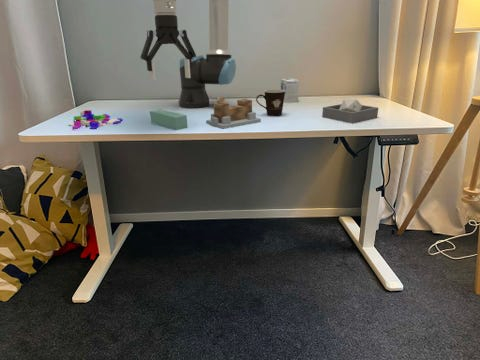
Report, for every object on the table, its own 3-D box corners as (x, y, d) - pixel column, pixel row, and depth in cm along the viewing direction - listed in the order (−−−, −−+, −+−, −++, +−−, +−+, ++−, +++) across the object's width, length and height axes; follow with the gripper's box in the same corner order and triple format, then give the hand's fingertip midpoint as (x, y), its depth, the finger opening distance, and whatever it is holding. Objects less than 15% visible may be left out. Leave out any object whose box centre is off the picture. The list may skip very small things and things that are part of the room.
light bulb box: (280, 99, 192) (280, 78, 188) (292, 98, 193) (292, 77, 189) (286, 102, 183) (286, 80, 178) (298, 102, 184) (299, 80, 180)
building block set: (115, 129, 139) (113, 118, 138) (60, 132, 138) (57, 120, 136) (128, 116, 163) (126, 106, 161) (80, 117, 161) (78, 107, 159)
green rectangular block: (151, 123, 147) (149, 111, 146) (161, 121, 151) (160, 109, 149) (176, 130, 135) (175, 117, 133) (187, 128, 138) (186, 115, 137)
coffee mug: (285, 113, 160) (286, 89, 156) (282, 117, 152) (283, 92, 148) (260, 112, 163) (260, 89, 159) (255, 116, 155) (255, 92, 151)
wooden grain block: (220, 123, 138) (219, 98, 135) (214, 121, 142) (213, 96, 138) (252, 117, 146) (251, 94, 143) (245, 116, 150) (245, 92, 146)
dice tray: (322, 116, 151) (322, 107, 149) (347, 111, 159) (348, 102, 158) (351, 123, 140) (352, 113, 138) (377, 117, 148) (378, 107, 147)
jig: (222, 129, 135) (221, 119, 134) (205, 123, 144) (205, 114, 143) (261, 121, 145) (261, 112, 144) (243, 116, 154) (243, 108, 153)
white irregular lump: (335, 119, 149) (347, 103, 141) (335, 105, 154) (347, 89, 146) (353, 126, 150) (366, 110, 142) (353, 112, 155) (365, 96, 147)
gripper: (134, 13, 114) (141, 83, 122) (203, 14, 127) (206, 77, 135) (125, 14, 120) (133, 81, 128) (192, 15, 133) (196, 75, 141)
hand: (171, 79), depth 131 cm, fingers open, 13 cm apart
